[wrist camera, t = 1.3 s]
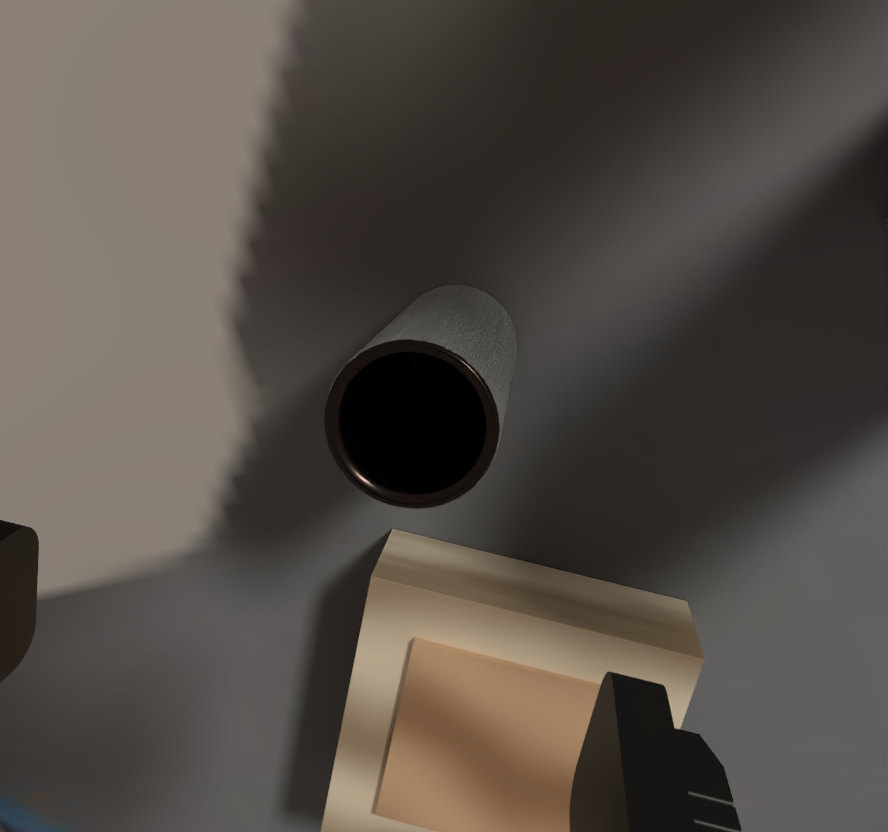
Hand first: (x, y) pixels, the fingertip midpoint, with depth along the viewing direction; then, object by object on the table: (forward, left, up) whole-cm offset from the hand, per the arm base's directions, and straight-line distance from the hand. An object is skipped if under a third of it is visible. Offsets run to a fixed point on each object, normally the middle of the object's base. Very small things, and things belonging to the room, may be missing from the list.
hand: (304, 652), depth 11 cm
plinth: (+14, +5, -20) cm, 25 cm away
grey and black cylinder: (0, 0, -20) cm, 20 cm away
